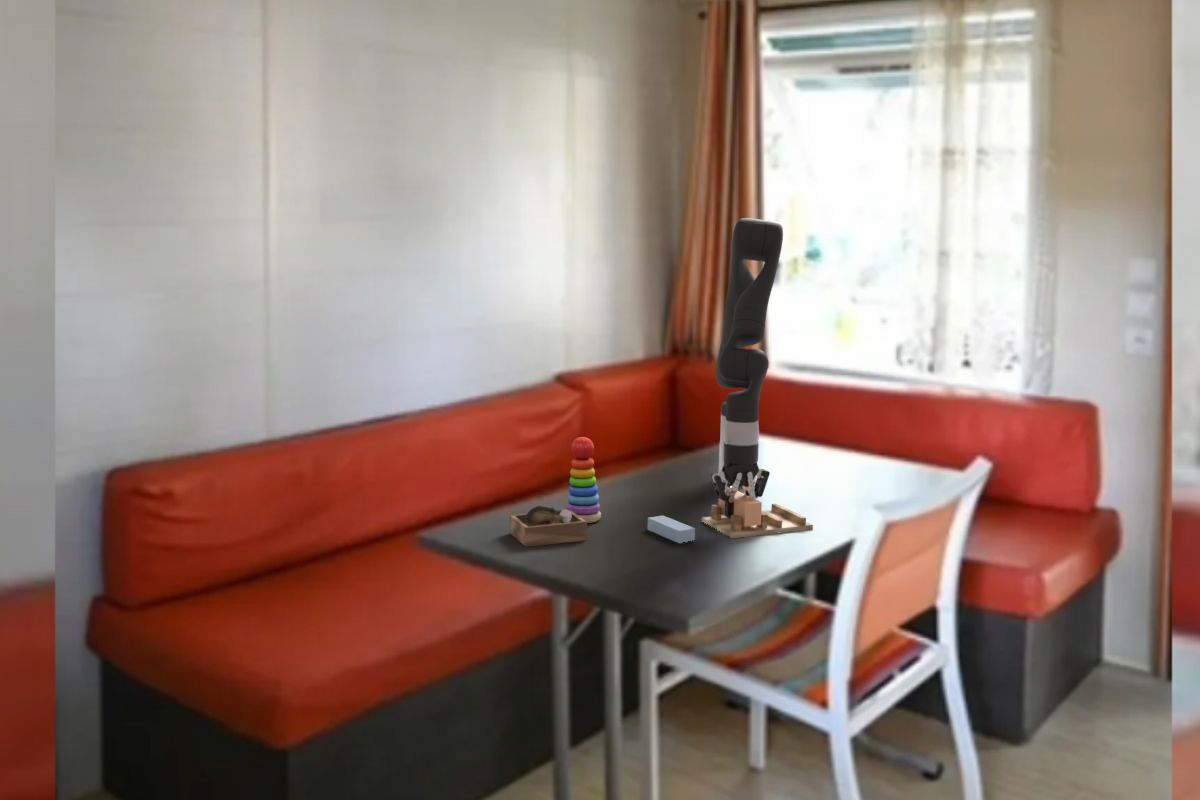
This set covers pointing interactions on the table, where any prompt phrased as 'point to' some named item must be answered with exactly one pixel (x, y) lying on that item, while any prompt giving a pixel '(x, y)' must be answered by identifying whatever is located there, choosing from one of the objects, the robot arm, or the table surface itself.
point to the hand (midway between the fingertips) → (739, 516)
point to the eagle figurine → (548, 516)
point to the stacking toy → (583, 482)
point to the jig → (770, 523)
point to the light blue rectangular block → (671, 529)
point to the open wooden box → (547, 530)
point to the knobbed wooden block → (745, 509)
